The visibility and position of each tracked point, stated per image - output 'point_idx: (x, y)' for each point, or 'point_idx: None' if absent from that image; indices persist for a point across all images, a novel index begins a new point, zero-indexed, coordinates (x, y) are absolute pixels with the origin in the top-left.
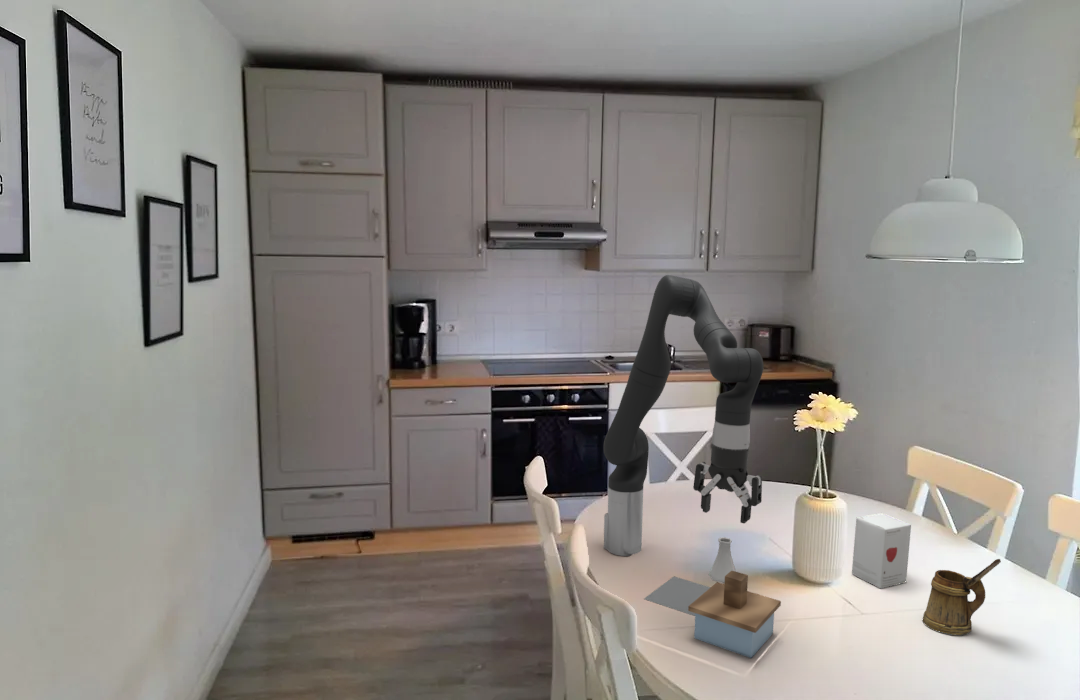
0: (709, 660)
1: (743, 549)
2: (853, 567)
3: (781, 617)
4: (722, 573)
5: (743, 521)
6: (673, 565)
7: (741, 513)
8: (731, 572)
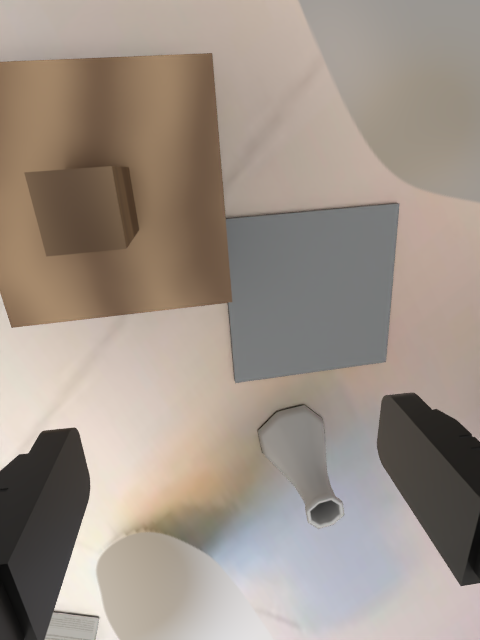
0: (96, 20)
1: (317, 562)
2: (91, 634)
3: (97, 372)
4: (290, 430)
5: (39, 438)
6: None
7: (38, 488)
8: (114, 228)
